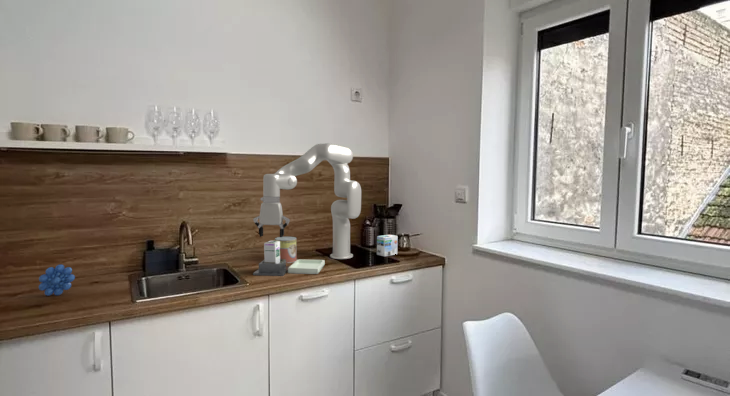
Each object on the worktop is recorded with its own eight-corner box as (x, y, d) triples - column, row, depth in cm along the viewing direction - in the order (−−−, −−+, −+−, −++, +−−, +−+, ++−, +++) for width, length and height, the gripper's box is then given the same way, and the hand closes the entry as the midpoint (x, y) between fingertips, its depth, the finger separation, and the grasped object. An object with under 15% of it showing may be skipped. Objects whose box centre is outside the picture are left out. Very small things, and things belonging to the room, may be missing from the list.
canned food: (286, 264, 210) (286, 241, 209) (270, 261, 216) (270, 238, 215) (301, 260, 220) (301, 237, 219) (285, 257, 226) (285, 235, 225)
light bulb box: (384, 256, 228) (384, 237, 227) (376, 254, 233) (376, 236, 233) (398, 254, 235) (398, 235, 234) (389, 252, 240) (389, 234, 240)
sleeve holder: (263, 267, 202) (263, 257, 202) (291, 268, 201) (290, 258, 201) (253, 275, 189) (252, 264, 188) (283, 276, 187) (282, 265, 187)
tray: (297, 264, 210) (297, 259, 210) (324, 264, 209) (324, 259, 209) (288, 273, 192) (288, 268, 192) (317, 274, 191) (317, 268, 191)
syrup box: (276, 273, 192) (275, 242, 190) (264, 272, 193) (263, 242, 192) (280, 270, 197) (280, 240, 196) (269, 269, 198) (269, 240, 197)
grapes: (78, 290, 164) (77, 260, 163) (74, 295, 158) (72, 264, 157) (42, 293, 160) (40, 263, 159) (36, 299, 154) (35, 267, 153)
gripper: (250, 200, 189) (250, 237, 190) (287, 201, 188) (287, 238, 189) (256, 199, 197) (256, 234, 198) (291, 200, 195) (291, 236, 196)
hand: (271, 236), depth 193 cm, fingers open, 9 cm apart
